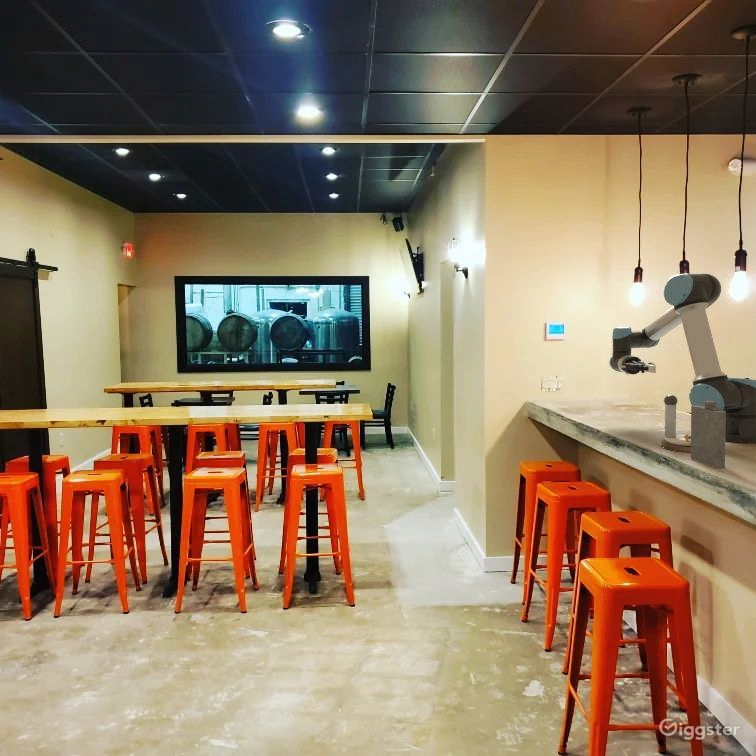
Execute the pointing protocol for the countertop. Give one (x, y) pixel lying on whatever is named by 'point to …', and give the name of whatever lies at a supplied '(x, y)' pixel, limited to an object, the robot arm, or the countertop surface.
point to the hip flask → (708, 434)
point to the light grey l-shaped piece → (673, 424)
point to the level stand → (675, 447)
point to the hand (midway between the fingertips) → (653, 369)
